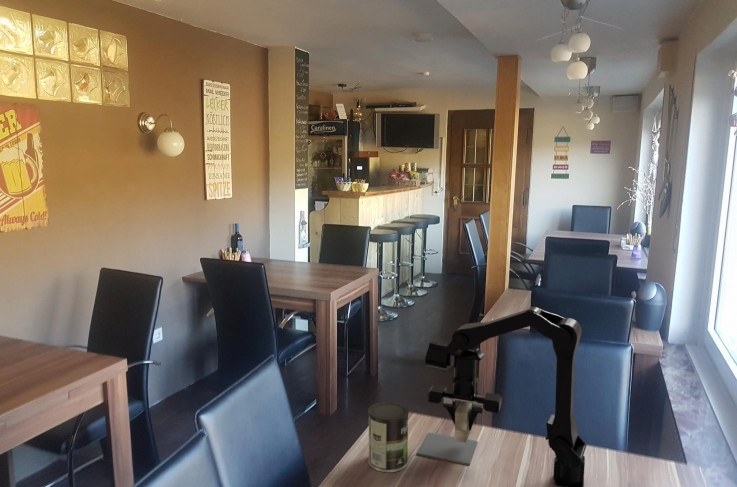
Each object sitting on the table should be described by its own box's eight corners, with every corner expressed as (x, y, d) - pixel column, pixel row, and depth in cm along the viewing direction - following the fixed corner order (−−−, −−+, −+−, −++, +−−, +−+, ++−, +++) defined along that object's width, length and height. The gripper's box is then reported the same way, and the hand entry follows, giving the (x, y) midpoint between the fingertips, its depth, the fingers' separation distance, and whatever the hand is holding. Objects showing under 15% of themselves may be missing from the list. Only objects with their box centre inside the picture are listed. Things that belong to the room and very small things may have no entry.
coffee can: (410, 453, 144) (411, 403, 142) (405, 475, 134) (405, 421, 132) (372, 449, 146) (372, 400, 144) (364, 470, 136) (364, 417, 134)
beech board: (471, 430, 147) (472, 403, 145) (466, 443, 140) (467, 414, 139) (460, 428, 148) (460, 401, 147) (454, 440, 141) (455, 412, 140)
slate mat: (477, 443, 149) (477, 441, 149) (469, 465, 138) (469, 463, 138) (428, 434, 154) (428, 432, 154) (416, 454, 143) (416, 452, 143)
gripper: (505, 366, 146) (503, 421, 148) (437, 358, 152) (436, 410, 154) (499, 382, 135) (497, 440, 137) (427, 372, 142) (426, 427, 144)
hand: (463, 428), depth 144 cm, fingers closed on beech board, 3 cm apart
